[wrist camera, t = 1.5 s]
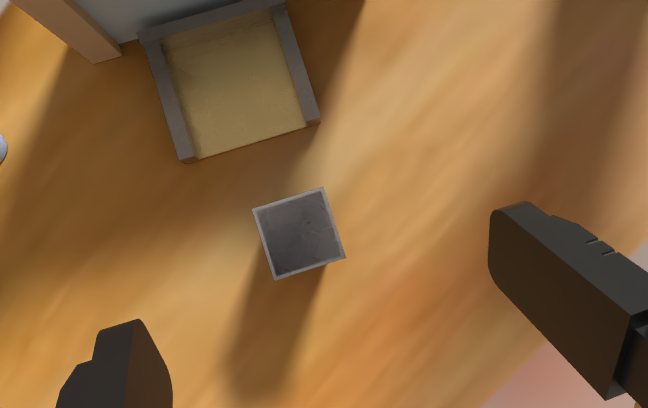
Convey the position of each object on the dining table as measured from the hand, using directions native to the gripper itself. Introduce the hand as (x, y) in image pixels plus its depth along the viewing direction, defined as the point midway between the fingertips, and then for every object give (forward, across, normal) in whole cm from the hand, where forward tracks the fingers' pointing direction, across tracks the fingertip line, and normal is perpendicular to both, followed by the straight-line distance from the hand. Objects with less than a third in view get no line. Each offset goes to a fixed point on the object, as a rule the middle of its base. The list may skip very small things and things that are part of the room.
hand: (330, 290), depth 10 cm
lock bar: (+22, -2, +14) cm, 26 cm away
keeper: (+29, 0, +4) cm, 30 cm away
